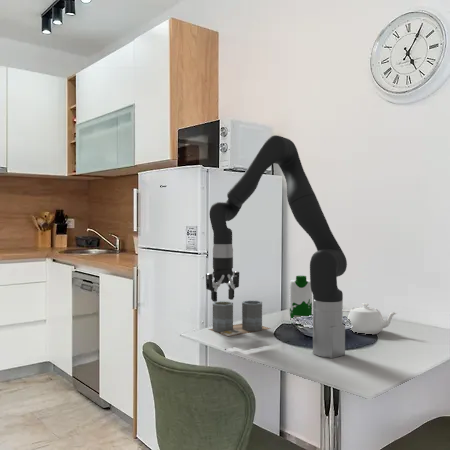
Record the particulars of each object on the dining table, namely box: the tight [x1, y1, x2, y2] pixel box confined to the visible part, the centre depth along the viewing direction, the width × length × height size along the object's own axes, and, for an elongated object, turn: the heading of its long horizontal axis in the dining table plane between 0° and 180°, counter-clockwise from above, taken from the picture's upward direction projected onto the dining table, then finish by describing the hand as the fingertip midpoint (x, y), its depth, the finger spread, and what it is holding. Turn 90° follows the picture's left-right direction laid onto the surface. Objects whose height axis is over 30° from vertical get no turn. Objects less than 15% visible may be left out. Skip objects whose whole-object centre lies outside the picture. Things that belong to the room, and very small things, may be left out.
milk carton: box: [289, 275, 313, 319], centre depth 188 cm, size 9×9×20 cm
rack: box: [208, 300, 272, 338], centre depth 178 cm, size 13×20×11 cm, turn 126°
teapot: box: [343, 302, 398, 335], centre depth 178 cm, size 22×14×11 cm, turn 59°
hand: (222, 300), depth 176 cm, fingers open, 7 cm apart
